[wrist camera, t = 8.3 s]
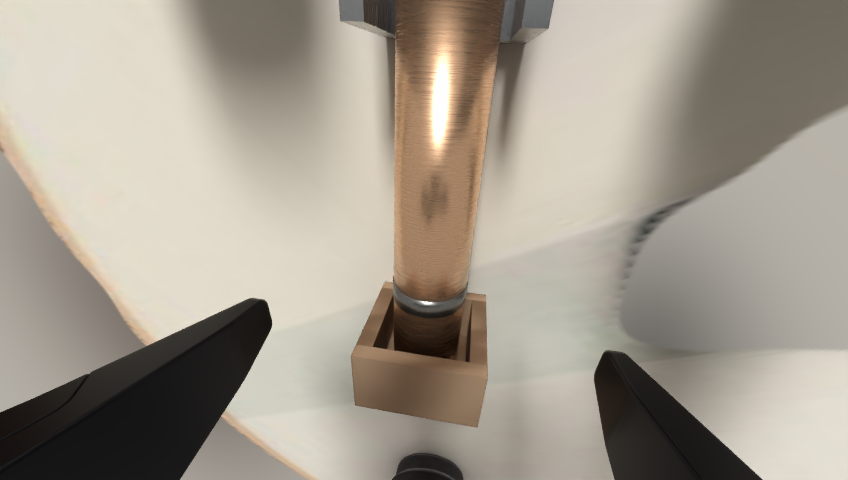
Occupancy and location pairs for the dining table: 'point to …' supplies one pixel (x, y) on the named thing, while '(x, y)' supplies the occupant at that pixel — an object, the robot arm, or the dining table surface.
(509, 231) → the dining table surface
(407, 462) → the camera lens
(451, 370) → the socket
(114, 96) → the dining table surface
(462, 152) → the tube
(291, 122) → the dining table surface
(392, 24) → the grey channel holder
